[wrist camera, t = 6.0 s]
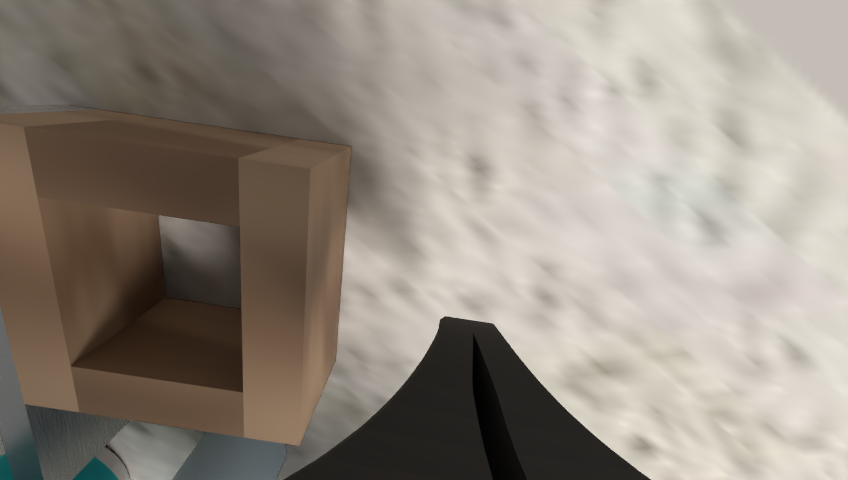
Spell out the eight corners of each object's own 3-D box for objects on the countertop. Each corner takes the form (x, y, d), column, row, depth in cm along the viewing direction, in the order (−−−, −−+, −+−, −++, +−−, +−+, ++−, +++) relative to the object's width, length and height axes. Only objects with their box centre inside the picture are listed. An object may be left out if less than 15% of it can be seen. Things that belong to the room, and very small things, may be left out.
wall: (138, 411, 17) (49, 502, 13) (114, 408, 17) (18, 497, 13) (98, 109, 13) (-48, 116, 9) (67, 105, 13) (-93, 109, 9)
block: (335, 359, 15) (299, 445, 12) (127, 328, 16) (24, 404, 12) (351, 146, 13) (310, 168, 9) (98, 109, 13) (-48, 116, 9)
